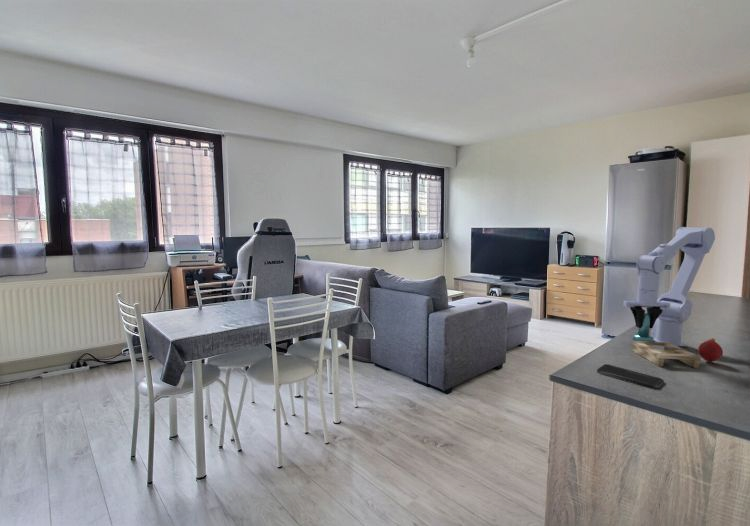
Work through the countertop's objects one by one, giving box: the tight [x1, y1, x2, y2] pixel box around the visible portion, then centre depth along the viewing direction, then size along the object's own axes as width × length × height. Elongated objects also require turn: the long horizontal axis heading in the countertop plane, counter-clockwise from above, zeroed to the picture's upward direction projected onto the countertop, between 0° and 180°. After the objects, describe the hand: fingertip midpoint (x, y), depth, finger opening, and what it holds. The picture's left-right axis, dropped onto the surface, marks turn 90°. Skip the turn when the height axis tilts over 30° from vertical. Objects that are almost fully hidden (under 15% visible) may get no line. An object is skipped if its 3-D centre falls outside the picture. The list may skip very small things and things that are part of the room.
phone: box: [596, 363, 665, 390], centre depth 111 cm, size 8×1×15 cm
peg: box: [632, 312, 654, 342], centre depth 137 cm, size 6×6×10 cm
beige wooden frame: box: [631, 340, 701, 369], centre depth 126 cm, size 14×12×4 cm
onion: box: [697, 337, 724, 363], centre depth 124 cm, size 6×6×8 cm
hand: (644, 327), depth 137 cm, fingers closed on peg, 3 cm apart
